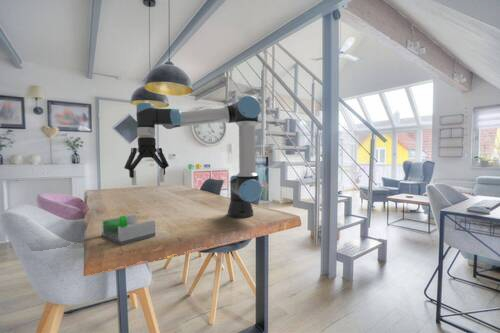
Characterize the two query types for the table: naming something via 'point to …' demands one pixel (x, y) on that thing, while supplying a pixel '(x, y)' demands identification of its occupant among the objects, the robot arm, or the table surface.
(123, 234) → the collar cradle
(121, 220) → the mechanical part
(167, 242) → the table surface
